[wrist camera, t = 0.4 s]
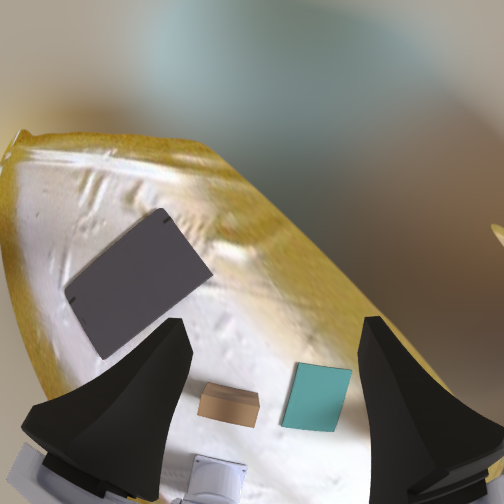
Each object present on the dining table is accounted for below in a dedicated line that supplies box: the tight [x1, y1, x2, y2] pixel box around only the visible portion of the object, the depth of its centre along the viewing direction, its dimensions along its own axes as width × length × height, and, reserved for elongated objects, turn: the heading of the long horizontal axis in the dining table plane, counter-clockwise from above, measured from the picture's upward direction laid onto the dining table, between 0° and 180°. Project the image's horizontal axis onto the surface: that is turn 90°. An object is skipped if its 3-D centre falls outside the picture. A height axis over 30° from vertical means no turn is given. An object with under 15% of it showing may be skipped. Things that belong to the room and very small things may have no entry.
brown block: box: [197, 382, 260, 428], centre depth 32 cm, size 7×3×6 cm, turn 77°
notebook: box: [65, 208, 213, 360], centre depth 38 cm, size 13×2×21 cm
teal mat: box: [282, 363, 352, 432], centre depth 35 cm, size 10×8×1 cm
